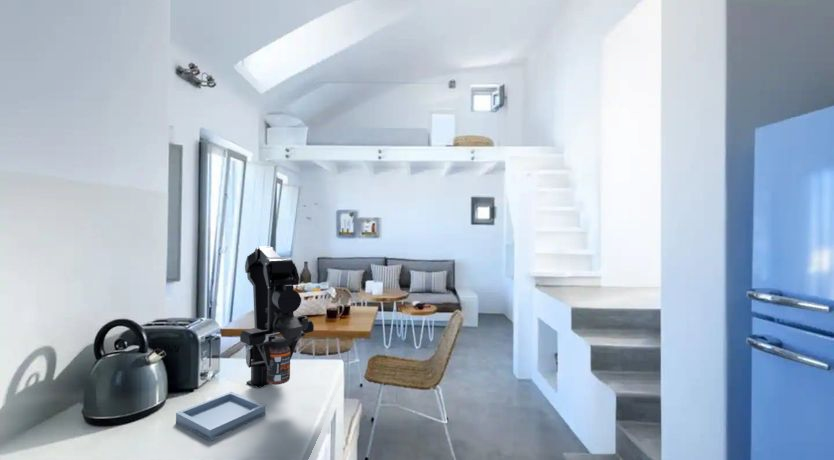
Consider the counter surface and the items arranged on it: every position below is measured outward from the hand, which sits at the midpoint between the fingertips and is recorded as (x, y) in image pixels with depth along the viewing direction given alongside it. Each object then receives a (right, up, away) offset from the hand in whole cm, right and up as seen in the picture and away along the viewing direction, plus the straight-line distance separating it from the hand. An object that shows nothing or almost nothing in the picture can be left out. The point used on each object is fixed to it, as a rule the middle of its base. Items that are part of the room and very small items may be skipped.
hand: (278, 362), depth 107 cm
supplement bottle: (0, -5, 0) cm, 5 cm away
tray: (-13, -13, -5) cm, 19 cm away
